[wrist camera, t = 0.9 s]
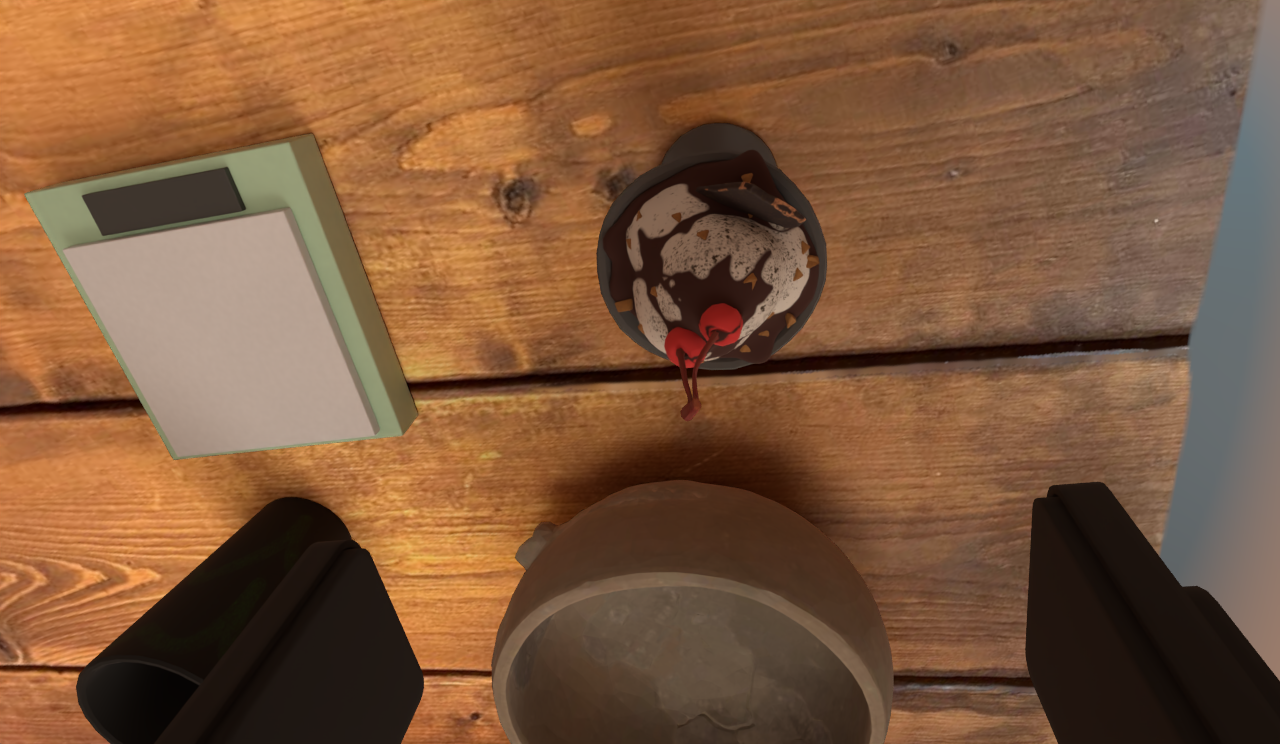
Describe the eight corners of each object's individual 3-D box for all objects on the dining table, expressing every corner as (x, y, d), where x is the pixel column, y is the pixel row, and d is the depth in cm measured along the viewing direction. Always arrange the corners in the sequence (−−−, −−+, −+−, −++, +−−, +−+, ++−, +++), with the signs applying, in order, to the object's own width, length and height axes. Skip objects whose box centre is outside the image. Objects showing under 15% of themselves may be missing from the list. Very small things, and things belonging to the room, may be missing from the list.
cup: (217, 488, 41) (39, 662, 31) (338, 474, 40) (195, 651, 29) (276, 591, 45) (133, 779, 34) (389, 582, 43) (277, 775, 33)
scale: (59, 182, 34) (10, 196, 31) (313, 132, 31) (280, 144, 29) (198, 439, 40) (165, 467, 38) (419, 415, 37) (398, 443, 35)
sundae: (679, 287, 32) (641, 494, 19) (610, 145, 30) (511, 272, 17) (824, 226, 31) (891, 411, 17) (762, 69, 28) (785, 145, 15)
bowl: (474, 507, 40) (399, 657, 31) (773, 371, 34) (786, 508, 25) (639, 708, 46) (616, 881, 37) (919, 622, 40) (970, 803, 31)
